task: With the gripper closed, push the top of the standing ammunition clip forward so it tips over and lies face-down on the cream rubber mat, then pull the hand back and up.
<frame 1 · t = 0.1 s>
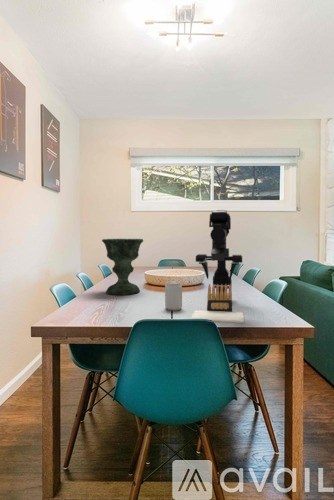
hand: (218, 279, 137), 15 cm above the table, tool pointing down, fingers open, 9 cm apart
mat: (217, 316, 133), on the table
can: (173, 309, 147), on the table
ammunition clip: (219, 311, 142), on the table
goblet: (123, 292, 186), on the table
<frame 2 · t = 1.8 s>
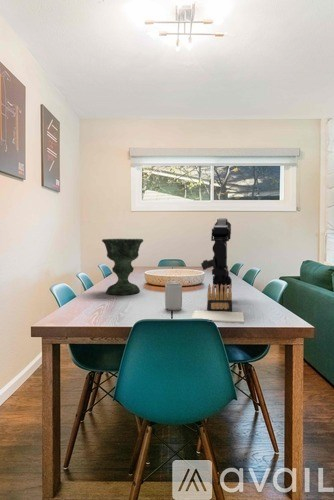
hand: (220, 288, 149), 9 cm above the table, tool pointing down, fingers closed
nothing on the table moved.
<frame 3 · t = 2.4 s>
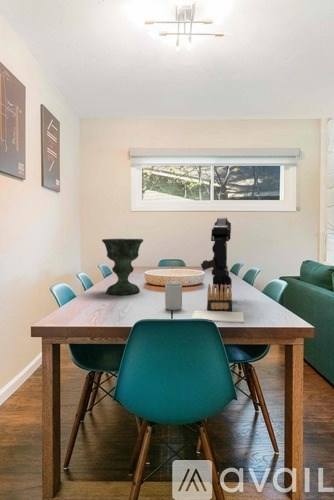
hand: (220, 288, 148), 9 cm above the table, tool pointing down, fingers closed
nothing on the table moved.
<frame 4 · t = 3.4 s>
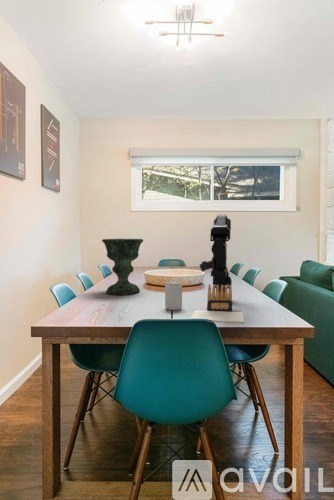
hand: (219, 290, 143), 9 cm above the table, tool pointing down, fingers closed
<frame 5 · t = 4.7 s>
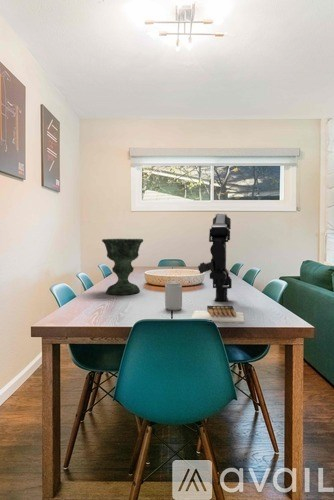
hand: (218, 293, 137), 9 cm above the table, tool pointing down, fingers closed
ammunition clip: (219, 307, 142), point 2 cm above the table, touching mat
everything else where it was.
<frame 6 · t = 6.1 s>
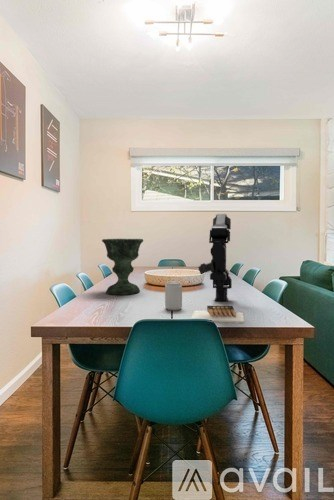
hand: (218, 293, 139), 8 cm above the table, tool pointing down, fingers closed
nothing on the table moved.
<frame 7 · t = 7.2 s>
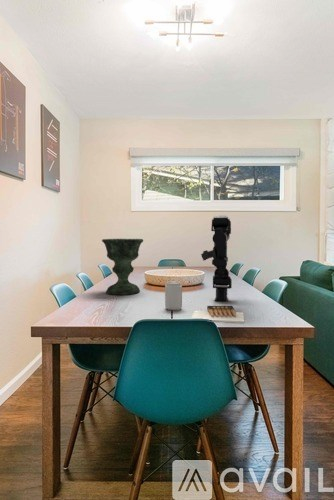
hand: (220, 279, 149), 13 cm above the table, tool pointing down, fingers closed
nothing on the table moved.
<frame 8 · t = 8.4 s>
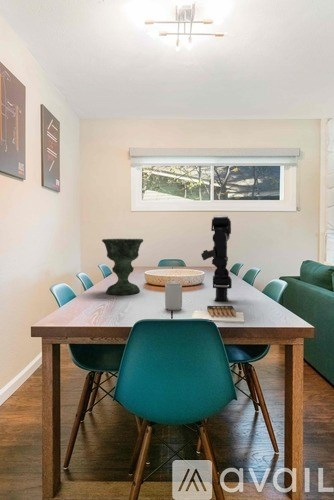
hand: (220, 278, 149), 13 cm above the table, tool pointing down, fingers closed
nothing on the table moved.
at the end: ammunition clip tilted 92°; ammunition clip touching mat; ammunition clip inside the target area (3.9 cm from its centre), point 1.7 cm above the table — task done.
